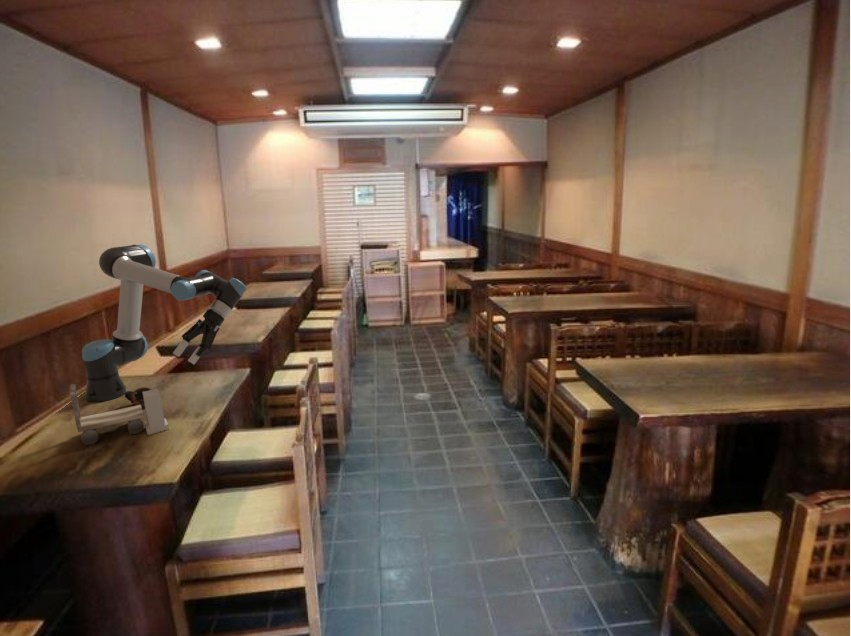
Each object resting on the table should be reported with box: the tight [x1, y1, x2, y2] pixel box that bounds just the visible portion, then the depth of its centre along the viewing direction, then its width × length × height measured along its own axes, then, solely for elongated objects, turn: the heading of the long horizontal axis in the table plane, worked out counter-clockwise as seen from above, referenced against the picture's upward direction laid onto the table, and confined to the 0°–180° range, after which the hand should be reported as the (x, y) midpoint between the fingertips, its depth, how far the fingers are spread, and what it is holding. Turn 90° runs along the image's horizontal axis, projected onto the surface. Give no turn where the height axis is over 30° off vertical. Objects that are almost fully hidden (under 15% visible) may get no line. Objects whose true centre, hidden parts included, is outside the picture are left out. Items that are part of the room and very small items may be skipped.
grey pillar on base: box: [143, 388, 170, 436], centre depth 189 cm, size 7×7×14 cm
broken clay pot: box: [124, 386, 152, 407], centre depth 212 cm, size 12×10×8 cm
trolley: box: [69, 383, 145, 446], centre depth 185 cm, size 13×20×19 cm, turn 123°
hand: (183, 358), depth 199 cm, fingers open, 13 cm apart
